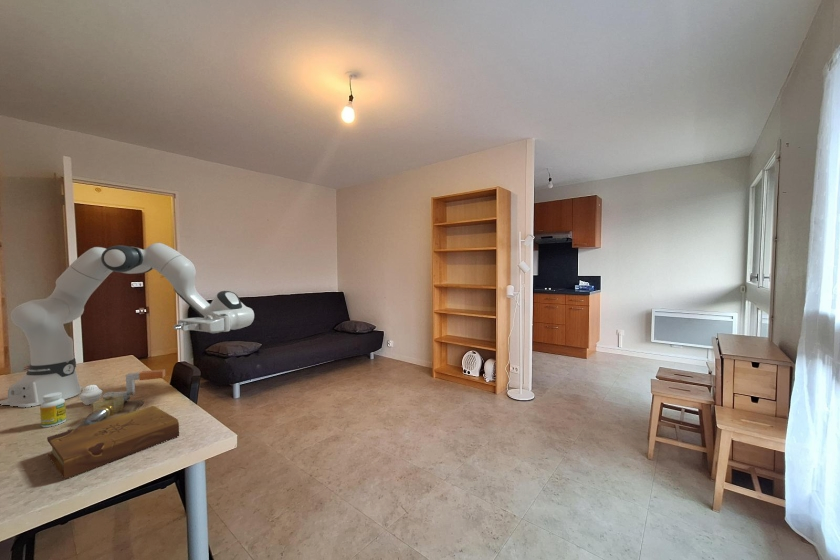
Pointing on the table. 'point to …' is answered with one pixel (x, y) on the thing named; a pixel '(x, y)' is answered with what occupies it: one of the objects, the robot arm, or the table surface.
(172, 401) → the table surface
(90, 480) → the table surface
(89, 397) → the muffin
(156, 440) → the brown wooden block
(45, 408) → the supplement bottle
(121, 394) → the valve lever
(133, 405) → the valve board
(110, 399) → the ball valve
